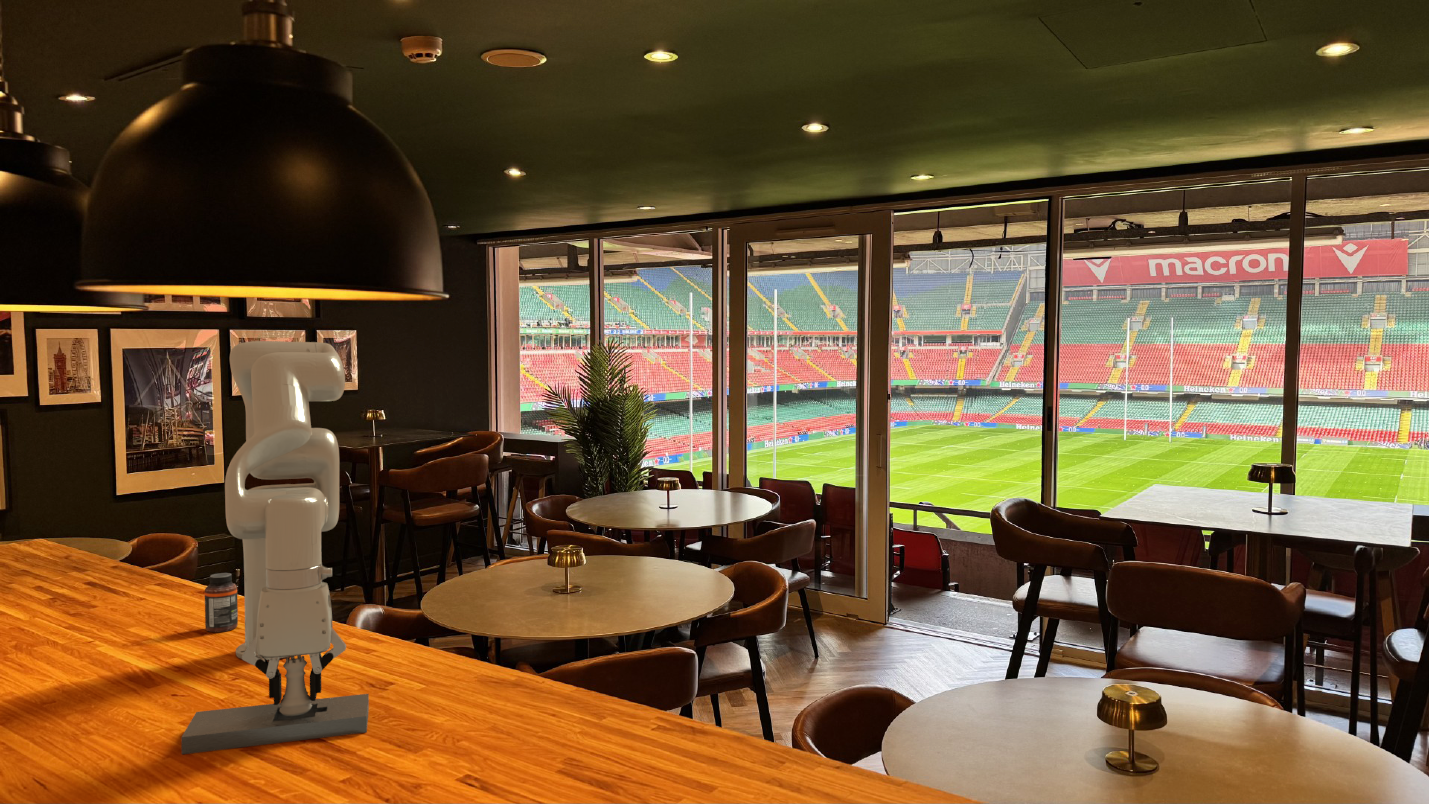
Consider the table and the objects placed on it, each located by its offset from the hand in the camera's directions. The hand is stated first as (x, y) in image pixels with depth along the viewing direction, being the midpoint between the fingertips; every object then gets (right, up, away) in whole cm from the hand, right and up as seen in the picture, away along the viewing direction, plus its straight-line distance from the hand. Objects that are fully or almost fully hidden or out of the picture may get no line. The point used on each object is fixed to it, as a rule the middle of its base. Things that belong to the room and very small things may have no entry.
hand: (295, 698), depth 135 cm
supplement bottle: (-40, -3, +53) cm, 66 cm away
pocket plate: (-2, -5, 0) cm, 5 cm away
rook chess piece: (0, -2, 0) cm, 2 cm away
